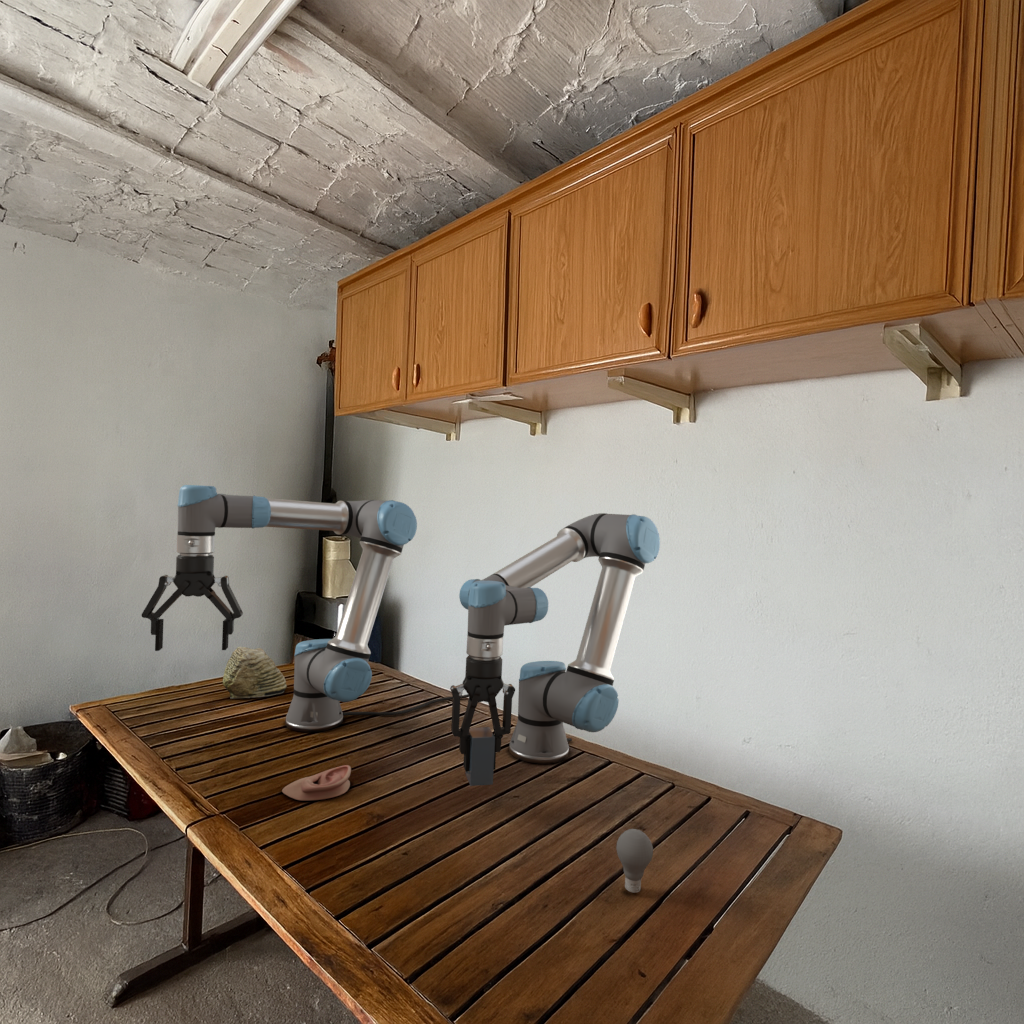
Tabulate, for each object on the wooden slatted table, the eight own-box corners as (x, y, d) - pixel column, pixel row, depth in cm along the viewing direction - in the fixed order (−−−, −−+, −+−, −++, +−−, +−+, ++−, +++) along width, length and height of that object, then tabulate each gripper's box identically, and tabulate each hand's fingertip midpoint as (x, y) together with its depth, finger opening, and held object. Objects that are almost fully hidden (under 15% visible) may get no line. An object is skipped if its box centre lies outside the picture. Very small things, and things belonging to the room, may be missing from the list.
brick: (470, 786, 128) (472, 738, 128) (465, 774, 134) (467, 727, 133) (492, 784, 129) (495, 736, 129) (487, 772, 135) (489, 726, 135)
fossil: (218, 695, 195) (220, 647, 195) (278, 685, 208) (279, 640, 207) (228, 703, 189) (230, 653, 188) (289, 692, 201) (290, 645, 201)
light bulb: (610, 879, 108) (613, 822, 108) (644, 879, 109) (647, 822, 109) (619, 902, 102) (622, 840, 102) (655, 901, 103) (658, 840, 103)
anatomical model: (274, 778, 132) (303, 756, 144) (273, 796, 132) (302, 774, 144) (333, 786, 130) (357, 764, 141) (332, 805, 130) (357, 781, 141)
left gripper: (127, 554, 135) (123, 653, 135) (252, 557, 140) (248, 652, 141) (139, 551, 142) (136, 645, 142) (257, 554, 147) (254, 644, 148)
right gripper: (444, 661, 125) (438, 778, 126) (530, 660, 130) (525, 773, 130) (439, 652, 133) (434, 762, 133) (521, 651, 137) (516, 758, 137)
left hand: (192, 649), depth 141 cm, fingers open, 13 cm apart
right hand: (479, 767), depth 131 cm, fingers closed on brick, 5 cm apart
